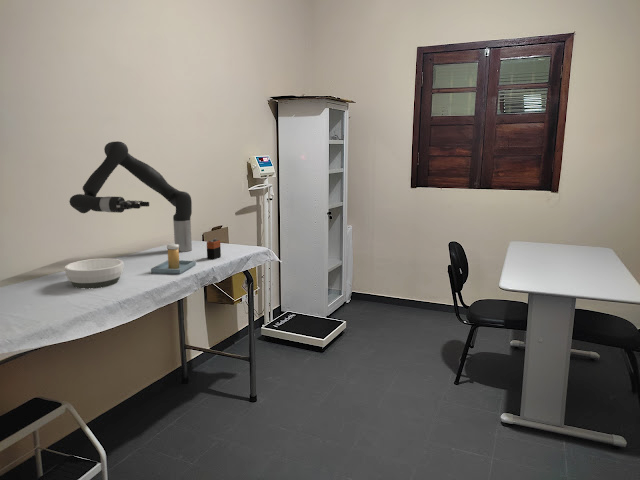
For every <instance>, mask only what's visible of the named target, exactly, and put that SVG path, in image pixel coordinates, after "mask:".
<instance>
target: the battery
mask: <svg viewBox="0 0 640 480" xmlns="http://www.w3.org/2000/svg"><path fill="white" fill-rule="evenodd" d="M221 247H222V246H221V240H220V239H218V238H215V237H214V238H213V239H210V240H208V241H206V259H207V260H216V259H219V258H222V253H221Z"/></svg>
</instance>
